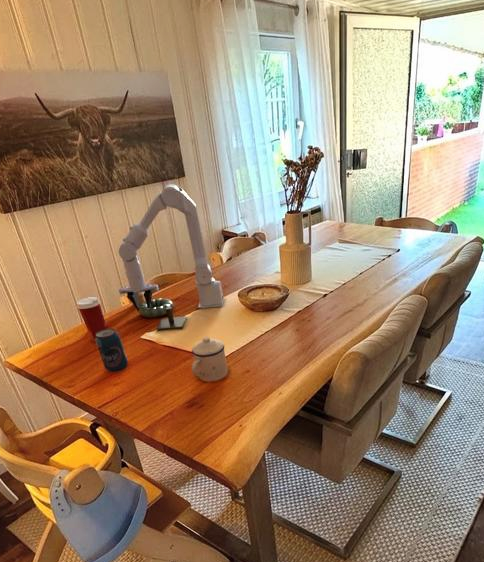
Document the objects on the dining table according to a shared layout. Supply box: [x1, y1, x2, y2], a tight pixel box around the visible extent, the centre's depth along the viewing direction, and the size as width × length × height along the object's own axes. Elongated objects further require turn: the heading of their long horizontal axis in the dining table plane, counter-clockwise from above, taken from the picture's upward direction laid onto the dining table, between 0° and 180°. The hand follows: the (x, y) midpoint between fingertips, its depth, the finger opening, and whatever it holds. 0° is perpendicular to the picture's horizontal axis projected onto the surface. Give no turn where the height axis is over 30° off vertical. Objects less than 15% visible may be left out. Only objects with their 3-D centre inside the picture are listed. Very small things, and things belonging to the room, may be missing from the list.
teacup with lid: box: [190, 336, 229, 383], centre depth 121 cm, size 12×9×12 cm
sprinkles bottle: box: [125, 271, 146, 305], centre depth 175 cm, size 5×5×13 cm
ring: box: [137, 297, 175, 319], centre depth 167 cm, size 13×13×4 cm
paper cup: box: [76, 296, 108, 343], centre depth 148 cm, size 8×8×14 cm
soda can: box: [95, 327, 129, 373], centre depth 129 cm, size 7×7×12 cm
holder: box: [156, 307, 187, 332], centre depth 155 cm, size 9×9×6 cm
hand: (144, 309), depth 168 cm, fingers closed on ring, 4 cm apart
